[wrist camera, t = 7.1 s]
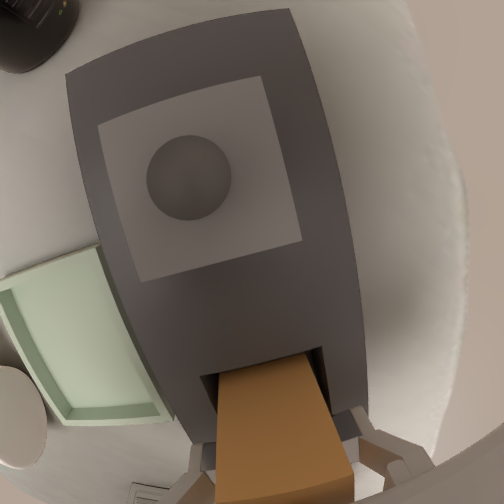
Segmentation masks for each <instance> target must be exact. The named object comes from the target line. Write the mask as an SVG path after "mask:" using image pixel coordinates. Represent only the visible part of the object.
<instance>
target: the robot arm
mask: <svg viewBox="0 0 504 504" xmlns="http://www.w3.org/2000/svg"><path fill="white" fill-rule="evenodd" d="M331 417H332V420H333V422H334V425H335V427H336V430H337V432H338V435H339V437H340V440H341V442H342V445H343V447H344V450H345V452H346V455H347V457H348V460H349V462H350V464H352V463H355V462H358V461H359V462H360V463H362V464H364V465H365V466H367V467H369V468H370V469H372V470H373V471H375V472H377V473H378V474H380V475H382V476H383V477H385V481H384V487H383V492H380V493H378V494H375V495H373V496H370V497H367V498H364V499H362V500H359V501H356V502H353V503H350V504H504V423H503V424H501V425H500V426H498V427H497V428H496V429H495V430H493V431H492V432H490V433H489V434H488V435H486V436H485V437H483V438H482V439H480V440H479V441H477V442H476V443H474V444H473V445H471V446H470V447H468V448H467V449H465V450H464V451H462V452H460V453H459V454H457V455H455V456H454V457H452V458H450V459H449V460H447V461H445V462H443V463H441V464H440V465H438V466H436V467H435V465H434V464H433V463H432V461H431V459H430V457H429V456H428V454H427V453H426V451H425V450H424V448H423V447H421V446H419V445H416V444H413V443H411V442H408V441H406V440H403V439H401V438H398V437H396V436H393V435H391V434H389V433H386V432H384V431H382V430H379V429H378V430H375V429H374V427H373V425H372V423H371V422H370V420H369V418H368V416H367V414H366V412H365V411H364V409H363V407H362V406H361V405H360V406H357V407H354V408H351V409H348V410H345V411H342V412H339V413H336V414H333V415H331ZM215 476H216V442H207V443H199V444H192V446H191V450H190V459H189V467H188V473H184V474H183V475H182V477H181V478H180V479H179V480H178V481H177V482H176V483H175V484H174V485H173V486H172V487H171V488H170V489H169V490H168V491H167V492H166V493H165V495H164V496H163V497H162V498H161V499H160V500H159V501H158V502H157V503H156V504H213V503H214V502H215Z"/></svg>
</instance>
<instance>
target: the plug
mask: <svg viewBox="0 0 504 504" xmlns="http://www.w3.org/2000/svg"><path fill="white" fill-rule="evenodd" d="M353 502H354V472H353V470H352V467H351V465H350V462H349V460H348V457H347V455H346V452H345V450H344V447H343V445H342V442H341V440H340V437H339V435H338V432H337V430H336V427H335V425H334V422H333V420H332V417H331V415H330V413H329V410H328V408H327V405H326V403H325V400H324V398H323V395H322V393H321V391H320V388H319V386H318V383H317V381H316V378H315V376H314V374H313V371H312V369H311V366H310V364H309V361H308V359H307V357H306V354H305V352H303V353H300V354H296V355H293V356H289V357H285V358H282V359H278V360H274V361H270V362H266V363H262V364H258V365H254V366H249V367H245V368H240V369H236V370H231V371H227V372H222V373H219V390H218V413H217V441H216V476H215V503H216V504H350V503H353Z"/></svg>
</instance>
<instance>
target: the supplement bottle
mask: <svg viewBox="0 0 504 504" xmlns="http://www.w3.org/2000/svg"><path fill="white" fill-rule="evenodd" d="M77 11H78V2H77V0H0V70H3V71H6V72H9V73H21V72H25V71H28V70H30V69H32V68H34V67H36V66H37V65H39V64H41V63H42V62H43V61H45V60H46V59H47V58H48V57H49V56H50V55H52V54H53V53H54V52H55V51H56V49H57V48H58V47H59V46H60V45H61V44H62V42H63V41H64V40H65V38H66V37H67V35H68V34H69V32H70V30H71V28H72V26H73V24H74V22H75V19H76V16H77Z"/></svg>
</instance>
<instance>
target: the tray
mask: <svg viewBox="0 0 504 504" xmlns="http://www.w3.org/2000/svg"><path fill="white" fill-rule="evenodd" d="M0 315H1V318H2V320H3V322H4V324H5V327H6V329H7V331H8V333H9V335H10V337H11V339H12V341H13V343H14V345H15V347H16V349H17V351H18V353H19V355H20V357H21V359H22V361H23V362H24V364H25V366H26V368H27V370H28V371H29V373H30V375H31V376H32V378H33V380H34V382H35V383H36V385H37V386H38V388H39V390H40V391H41V393H42V394H43V396H44V397H45V399H46V401H47V402H48V404H49V405H50V407H51V408H52V409H53V411H54V412H55V414H56V415H57V417H58V418H59V419H60V421H61V422H62V424H63V425H64V426H115V425H134V424H148V423H159V422H169V421H174V416H175V413H174V411H173V409H172V407H171V406H170V404H169V402H168V400H167V398H166V396H165V394H164V393H163V391H162V389H161V387H160V385H159V383H158V381H157V379H156V377H155V375H154V373H153V371H152V369H151V367H150V365H149V363H148V361H147V359H146V357H145V355H144V353H143V350H142V348H141V346H140V344H139V342H138V339H137V337H136V335H135V333H134V330H133V328H132V326H131V323H130V321H129V319H128V316H127V314H126V311H125V309H124V307H123V304H122V302H121V299H120V296H119V294H118V291H117V289H116V286H115V283H114V281H113V278H112V275H111V272H110V269H109V267H108V264H107V261H106V258H105V255H104V252H103V249H102V246H101V243H98V244H95V245H92V246H89V247H86V248H83V249H80V250H77V251H74V252H71V253H68V254H65V255H63V256H60V257H57V258H54V259H51V260H48V261H46V262H43V263H40V264H38V265H35V266H32V267H29V268H27V269H24V270H21V271H19V272H16V273H14V274H11V275H8V276H6V277H4V278H2V279H0Z"/></svg>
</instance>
